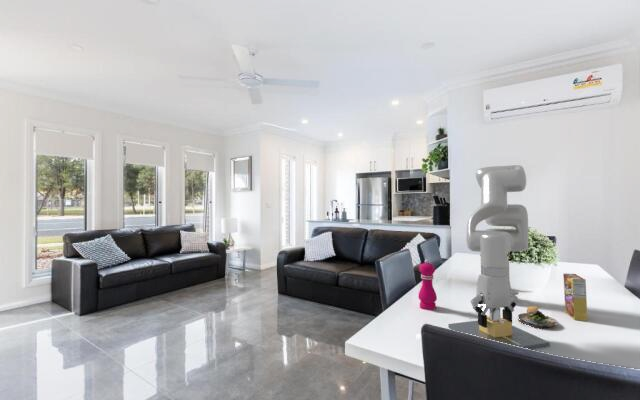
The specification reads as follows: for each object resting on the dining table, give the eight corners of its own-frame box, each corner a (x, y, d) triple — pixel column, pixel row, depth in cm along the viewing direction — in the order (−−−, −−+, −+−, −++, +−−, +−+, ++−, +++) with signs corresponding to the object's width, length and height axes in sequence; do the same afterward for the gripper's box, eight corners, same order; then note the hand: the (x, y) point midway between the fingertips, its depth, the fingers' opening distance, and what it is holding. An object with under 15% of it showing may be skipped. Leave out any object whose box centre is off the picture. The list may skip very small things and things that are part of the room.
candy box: (563, 311, 119) (562, 272, 119) (577, 313, 117) (576, 273, 118) (573, 320, 111) (572, 278, 111) (587, 321, 109) (586, 279, 109)
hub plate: (496, 321, 110) (495, 296, 110) (549, 346, 91) (549, 315, 91) (448, 327, 105) (447, 301, 106) (494, 355, 86) (493, 322, 86)
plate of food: (545, 333, 101) (544, 310, 101) (510, 320, 111) (510, 300, 112) (566, 326, 105) (565, 305, 106) (531, 315, 116) (530, 296, 116)
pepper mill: (438, 310, 122) (437, 261, 122) (419, 309, 123) (418, 260, 124) (435, 305, 129) (434, 258, 129) (417, 304, 130) (416, 257, 131)
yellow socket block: (495, 327, 102) (495, 313, 102) (512, 335, 96) (511, 320, 96) (479, 329, 101) (478, 315, 101) (494, 337, 94) (494, 322, 94)
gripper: (506, 267, 104) (507, 317, 104) (463, 270, 100) (464, 322, 100) (525, 272, 97) (527, 326, 97) (480, 276, 93) (481, 332, 92)
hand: (495, 324), depth 98 cm, fingers open, 9 cm apart
